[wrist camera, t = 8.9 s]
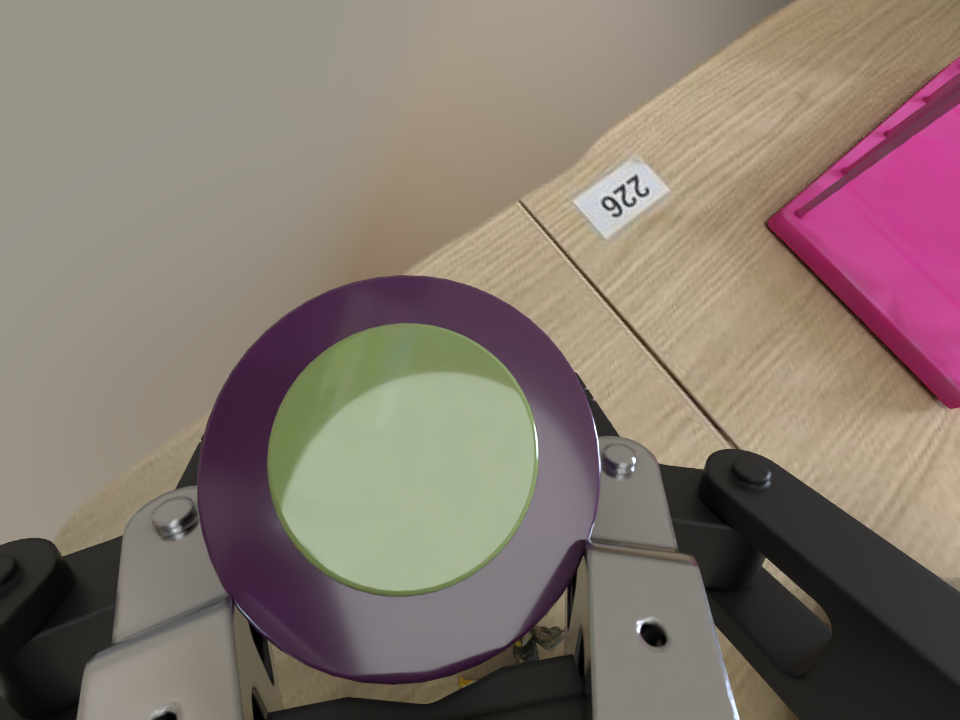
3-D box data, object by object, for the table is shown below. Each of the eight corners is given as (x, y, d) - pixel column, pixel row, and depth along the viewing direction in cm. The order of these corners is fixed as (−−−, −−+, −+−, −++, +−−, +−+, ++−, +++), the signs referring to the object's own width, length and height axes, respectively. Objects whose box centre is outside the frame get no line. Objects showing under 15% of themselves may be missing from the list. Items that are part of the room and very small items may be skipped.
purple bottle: (364, 581, 14) (198, 866, 4) (321, 431, 15) (87, 295, 4) (509, 522, 15) (728, 603, 4) (460, 384, 16) (542, 181, 5)
